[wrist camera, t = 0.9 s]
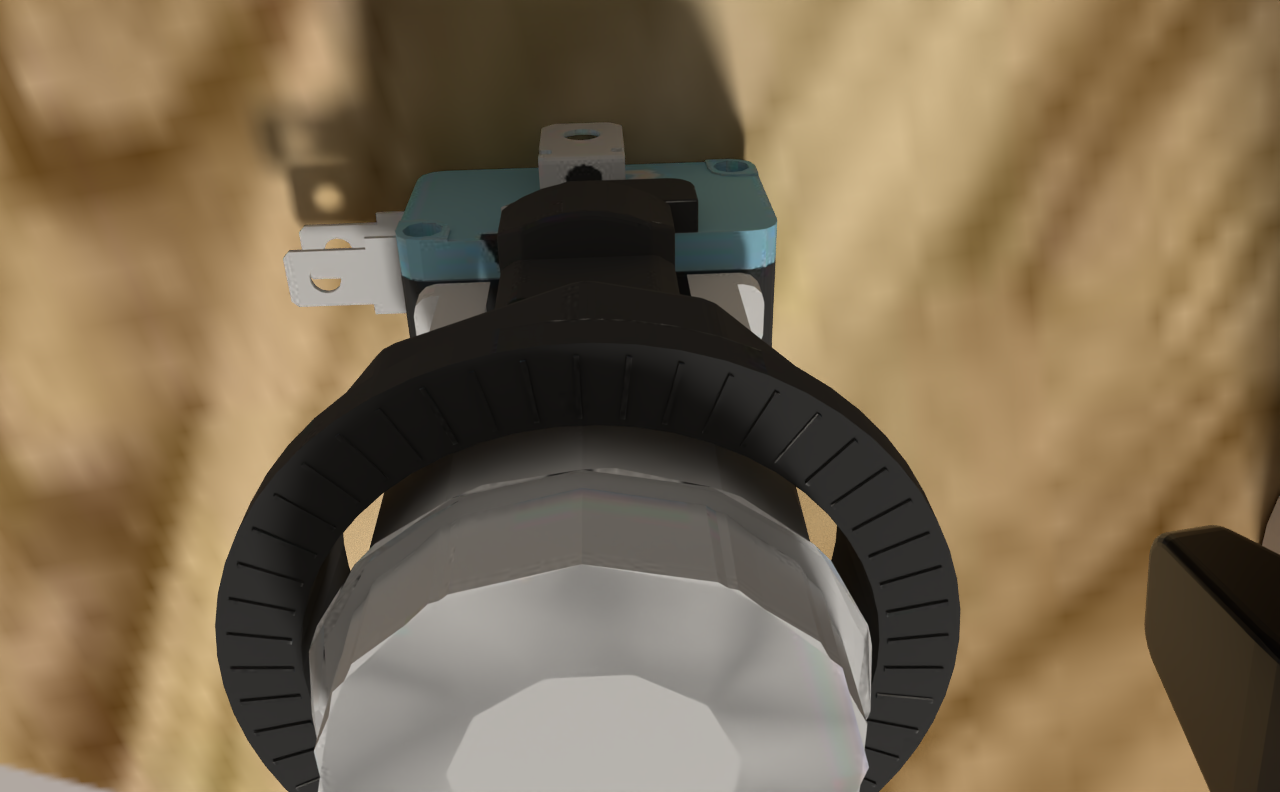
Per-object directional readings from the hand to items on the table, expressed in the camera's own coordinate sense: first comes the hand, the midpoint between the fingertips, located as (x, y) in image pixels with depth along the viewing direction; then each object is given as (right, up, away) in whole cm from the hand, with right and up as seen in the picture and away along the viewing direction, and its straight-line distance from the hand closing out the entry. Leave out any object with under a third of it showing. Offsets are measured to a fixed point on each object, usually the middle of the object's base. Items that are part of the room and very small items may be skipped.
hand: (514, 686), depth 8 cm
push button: (-1, +5, +8) cm, 9 cm away
